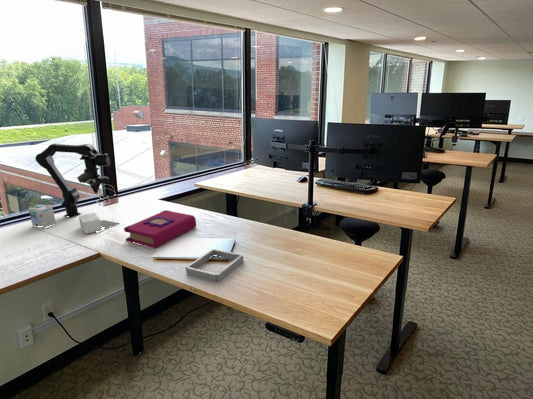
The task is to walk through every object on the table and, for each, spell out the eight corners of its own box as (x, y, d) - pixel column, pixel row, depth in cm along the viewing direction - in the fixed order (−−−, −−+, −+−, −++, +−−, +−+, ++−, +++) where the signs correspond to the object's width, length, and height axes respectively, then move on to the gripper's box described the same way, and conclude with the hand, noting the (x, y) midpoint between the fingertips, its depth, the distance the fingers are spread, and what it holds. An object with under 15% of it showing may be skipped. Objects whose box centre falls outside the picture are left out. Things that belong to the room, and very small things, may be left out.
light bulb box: (32, 226, 209) (27, 208, 206) (43, 222, 215) (38, 204, 212) (46, 228, 205) (41, 209, 202) (57, 224, 211) (52, 205, 208)
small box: (80, 227, 205) (85, 234, 194) (78, 215, 203) (82, 222, 192) (97, 223, 209) (102, 230, 198) (94, 212, 207) (99, 218, 197)
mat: (80, 229, 202) (80, 228, 202) (103, 220, 213) (103, 219, 213) (97, 233, 196) (97, 232, 196) (119, 223, 207) (119, 223, 207)
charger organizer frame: (185, 274, 150) (184, 267, 149) (213, 254, 166) (212, 248, 165) (218, 282, 143) (217, 275, 142) (244, 261, 158) (243, 254, 158)
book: (196, 228, 197) (195, 214, 194) (156, 250, 174) (153, 234, 172) (167, 222, 207) (165, 208, 205) (124, 241, 185) (122, 227, 182)
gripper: (67, 168, 213) (73, 195, 218) (89, 171, 205) (95, 199, 210) (84, 164, 223) (90, 190, 227) (106, 166, 214) (111, 193, 219)
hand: (96, 193), depth 221 cm, fingers closed
